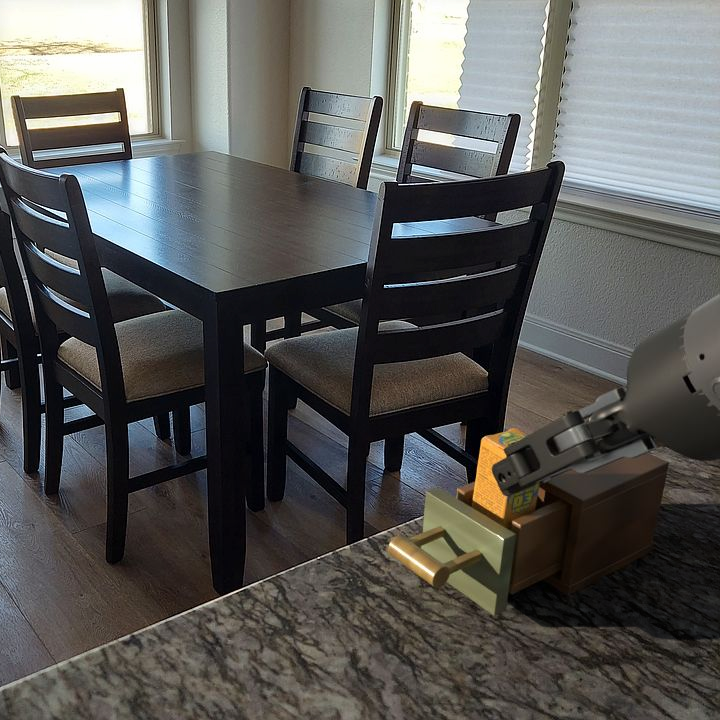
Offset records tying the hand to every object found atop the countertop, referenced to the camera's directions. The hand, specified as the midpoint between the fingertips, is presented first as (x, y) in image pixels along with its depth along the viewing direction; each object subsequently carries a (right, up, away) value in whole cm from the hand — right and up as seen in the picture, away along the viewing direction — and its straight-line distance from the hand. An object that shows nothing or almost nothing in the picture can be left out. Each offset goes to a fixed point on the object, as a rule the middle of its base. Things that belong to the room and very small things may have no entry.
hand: (548, 465), depth 57 cm
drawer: (-3, -9, +6) cm, 11 cm away
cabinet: (+5, -8, +11) cm, 15 cm away
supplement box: (-2, -8, +6) cm, 10 cm away
